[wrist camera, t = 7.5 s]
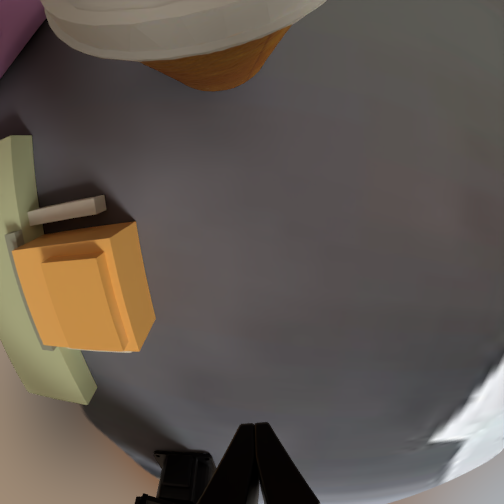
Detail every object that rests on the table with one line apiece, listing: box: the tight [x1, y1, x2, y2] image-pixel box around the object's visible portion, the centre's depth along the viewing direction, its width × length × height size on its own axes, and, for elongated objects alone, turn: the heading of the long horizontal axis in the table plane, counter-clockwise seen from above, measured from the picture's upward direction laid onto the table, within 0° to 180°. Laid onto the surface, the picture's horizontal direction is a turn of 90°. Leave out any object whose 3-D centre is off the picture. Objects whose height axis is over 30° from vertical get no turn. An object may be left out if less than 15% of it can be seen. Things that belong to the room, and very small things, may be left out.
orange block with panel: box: [12, 221, 156, 352], centre depth 16 cm, size 7×8×5 cm
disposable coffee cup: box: [40, 0, 327, 91], centre depth 9 cm, size 10×10×12 cm
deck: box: [0, 135, 132, 405], centre depth 17 cm, size 22×14×3 cm, turn 4°
